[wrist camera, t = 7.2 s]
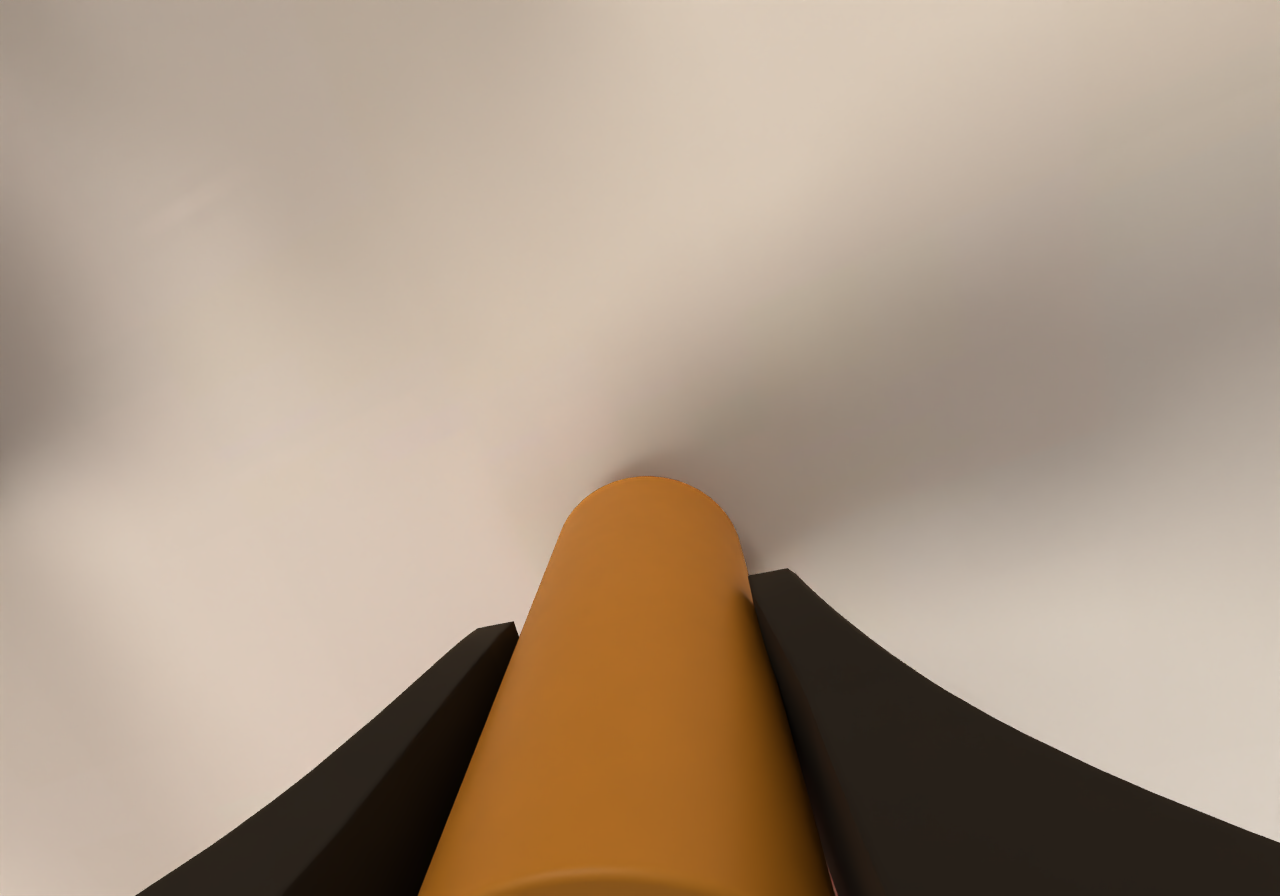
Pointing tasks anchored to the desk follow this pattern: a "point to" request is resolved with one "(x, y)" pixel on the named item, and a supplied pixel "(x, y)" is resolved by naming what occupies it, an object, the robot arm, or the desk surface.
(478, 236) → the desk surface
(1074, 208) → the desk surface
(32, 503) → the desk surface
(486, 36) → the desk surface
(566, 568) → the candle
